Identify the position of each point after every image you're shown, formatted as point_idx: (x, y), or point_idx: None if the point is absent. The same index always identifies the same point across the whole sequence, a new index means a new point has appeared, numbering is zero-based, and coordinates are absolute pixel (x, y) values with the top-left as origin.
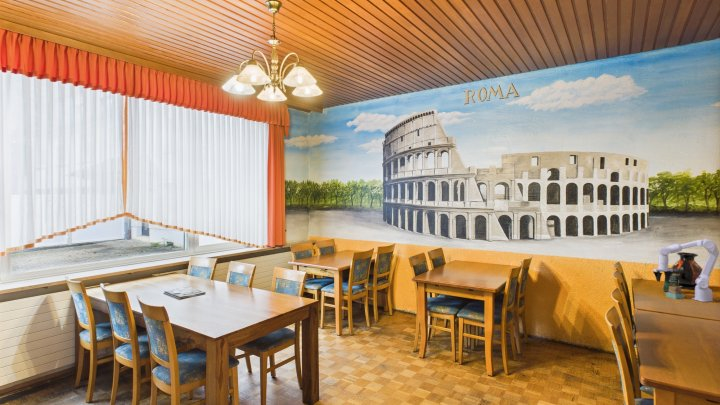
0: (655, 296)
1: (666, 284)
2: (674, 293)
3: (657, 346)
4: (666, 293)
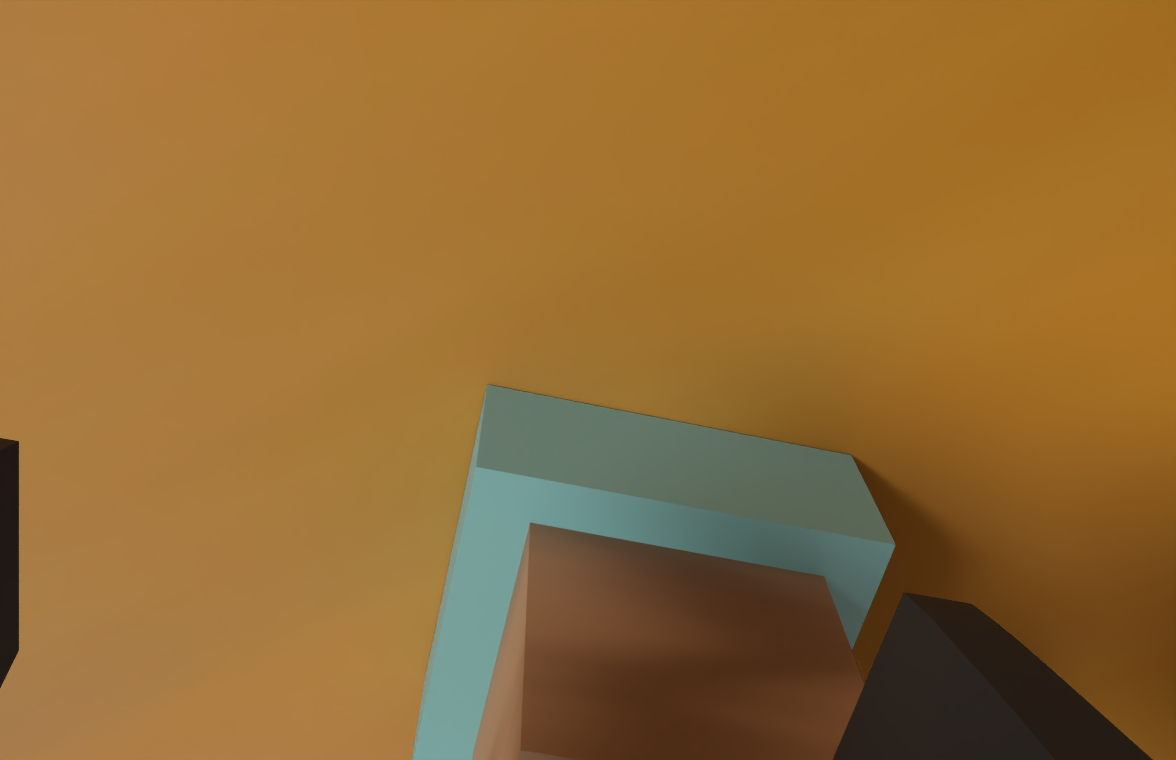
0: (6, 249)
1: None
2: (478, 747)
3: None
4: (480, 448)
